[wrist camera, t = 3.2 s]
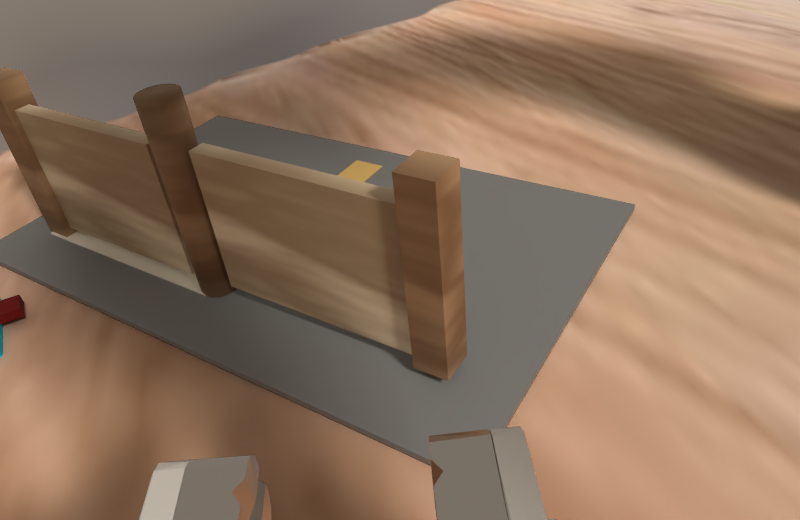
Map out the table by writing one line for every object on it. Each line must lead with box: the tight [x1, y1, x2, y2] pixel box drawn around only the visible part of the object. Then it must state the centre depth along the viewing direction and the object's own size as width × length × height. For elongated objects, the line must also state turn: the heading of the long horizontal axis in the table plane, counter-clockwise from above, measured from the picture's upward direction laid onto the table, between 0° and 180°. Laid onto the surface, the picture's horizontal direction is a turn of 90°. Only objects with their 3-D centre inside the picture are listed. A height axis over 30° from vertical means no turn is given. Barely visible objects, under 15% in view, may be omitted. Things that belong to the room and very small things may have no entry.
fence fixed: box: [0, 68, 237, 298], centre depth 40 cm, size 2×18×13 cm, turn 58°
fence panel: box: [189, 143, 467, 381], centre depth 33 cm, size 2×15×11 cm, turn 58°
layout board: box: [0, 116, 635, 465], centre depth 45 cm, size 24×39×1 cm, turn 58°
